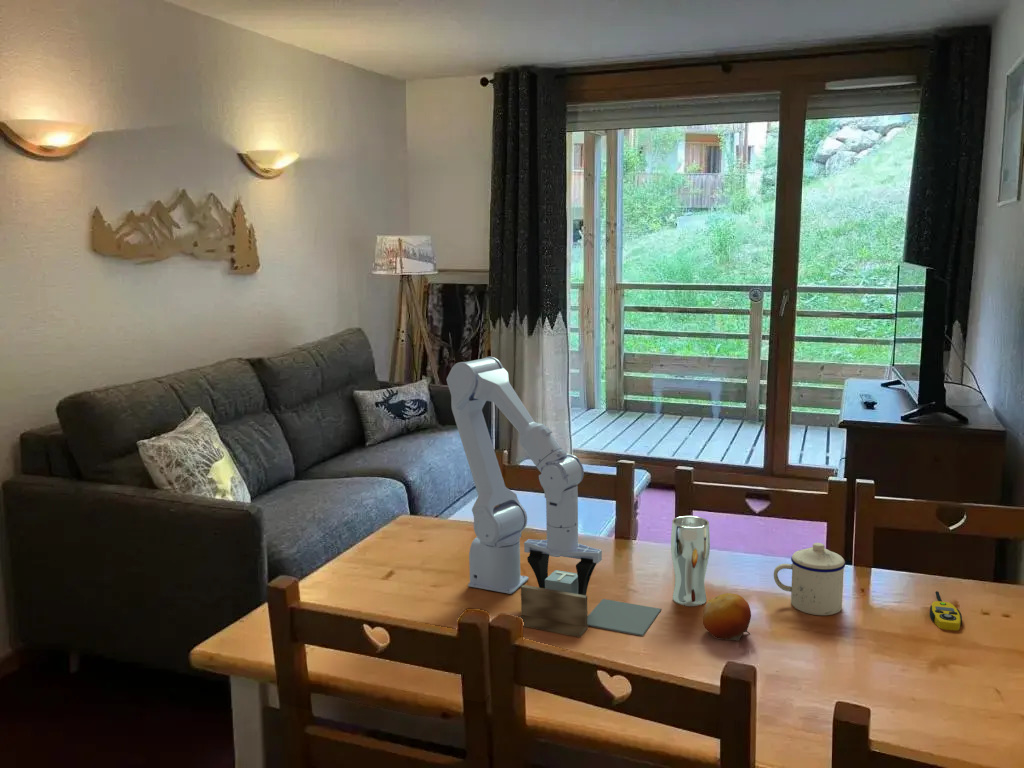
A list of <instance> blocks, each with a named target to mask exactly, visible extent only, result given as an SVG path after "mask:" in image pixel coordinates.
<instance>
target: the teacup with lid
mask: <svg viewBox="0 0 1024 768" xmlns="http://www.w3.org/2000/svg"><path fill="white" fill-rule="evenodd" d="M825 547H826V546H825V544H824V543H821V542H814V543H813V544H812V546H811V547H808V548H802V549H799V550H797V551H795V552H794V553H793V554H792V555H791V557H790V561H791V563H792V564H791V563H781V564H778V565H777V566H776V567H775V568H774V571H773V580H774V582H775V584H776V585H777V587H778V588H779V589H781V590H783V591H786V592H790V593H791V594H790V603H791V605H792V606H793V607H794V608H795V609H796V610H798V611H800V612H802V613H805V614H809V615H814V616H831V615H835V614H838V613H839V612H840V611H841V610H842V609H843V587H844V569H845V567H846V561H845V559H844V558H843V557H842V555H840V554H838V553H836V552H834V551H831V550H830V549H827V548H825ZM781 570H792V571H791V586H789V585H785V584H784V583H782V581H780V579H779V575H778V573H779V571H781Z"/></svg>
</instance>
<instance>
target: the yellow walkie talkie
mask: <svg viewBox="0 0 1024 768" xmlns="http://www.w3.org/2000/svg"><path fill="white" fill-rule="evenodd" d="M935 596H936V599H937V601H933V602H932V604H931V605H930V607H929V618H930V620H931V621H932V623H934V624H935V626H936V627H938V628H939V629H941V630H946V631H955V632H956V631H959V630H960V629H961V626H962V621H963V617H962V613H961V611H960V610H959V608H957V607H956V606H955V605H954V604H953V603H951V602H947V601H943V600H942V598H941V595H940V592H939V591H937V590H936V591H935Z"/></svg>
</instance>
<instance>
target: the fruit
mask: <svg viewBox="0 0 1024 768" xmlns="http://www.w3.org/2000/svg"><path fill="white" fill-rule="evenodd" d="M706 602H707V603H706V604H705V606H704V609H703V612H702V614H703V615H702V619H701V620H702V625H703V627H704V629H705V630H706V631H707V632H708V633H709V634H710V635H711V636H712V637H714V638H715V639H718V640H722V641H723V640H724V641H726V640H727V641H728V640H729V641H730V640H734V641H738V642H740V638H741V637H742V636H743V634H744V633H747V634H749V635H751V633H750V632H749V631H748V628H749V625H750V623H751V619H752V611H751V607H750V605H749V603H748V601H747V600H746V599H745V598H744V597H743V596H741V595H740V594H737V593H731V592H729V593H728V592H727V593H725V592H724V593H722V594H719V595H718V596H715V597H714V598H710V599H709V600H708V601H706Z"/></svg>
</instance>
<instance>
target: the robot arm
mask: <svg viewBox="0 0 1024 768" xmlns="http://www.w3.org/2000/svg"><path fill="white" fill-rule="evenodd" d="M509 376H510V375H509V372H508V371H507V369H505V367H504V366H503V364H502V362H501V361H500V360H499V359H498V358H496V357H494V356H486V357H484V358H480V359H474V360H468V361H460V362H457V363H455V364H453V366H452V367H451V369H450V371H449V373H448V375H447V376H446V383H447V387H448V390H449V393H450V399H451V401H450V403H451V411H452V414H453V417H454V421H455V424H456V428H457V430H458V434H459V437H460V440H461V443H462V448H463V450H464V453H465V456H466V460H467V464H468V466H469V470H470V472H471V476H472V479H473V483H474V486H475V489H476V492H477V498H476V500H475V502H474V504H473V506H472V508H471V512H472V515H473V530H474V533H475V536H476V537H475V538H473V540H472V541H471V544H470V547H469V553H468V554H469V555H468V559H469V583H468V585H467V586H468V587H470V588H474V589H475V588H476V589H480V590H482V589H483V590H486V591H493V592H498V593H503V594H508V595H509V594H510V595H512V594H513V593H515V592H516V591H517V590H518V589H519V588H521V586H522V585H525V583H527V581H528V580H529V576H526V575H521V545H520V544H521V543H520V542H521V537H522V531H524V530H525V529H526V527H527V524H528V515H527V512H526V510H525V508H524V507H523V505H522V504H521V502H520V500H519V498H518V496H517V493H515V492H514V491H513V490H511V489H509V488H508V487H506V484H505V481H504V477H503V475H502V471H501V467H500V465H499V460H498V458H497V455H496V451H495V449H494V446H493V443H492V439H491V435H490V432H489V429H488V426H487V422H486V419H485V417H484V413H483V409H484V406H485V404H486V403H487V402H492V403H493V404H494V405H495V406H496V407H497V409H499V410H500V412H501V413H502V414H503V416H505V418H506V419H507V420H508V421H509V422H510V424H511V425H512V426H513V427H514V428H515V430H517V432H518V433H519V437H518V444H519V445H520V446H521V448H522V449H523V451H525V453H526V454H527V456H528V457H529V459H530V461H532V463H533V464H534V466H535V467H536V468H537V469H538V471H539V472H540V474H539V475H538V480H539V483H540V486H541V488H543V489H542V490H543V492H544V498H545V506H546V507H545V508H546V509H545V512H546V518H545V519H546V539H530V538H528V539H527V540H526V541H524V542H523V547H524V549H523V550H524V553H529V555H528V556H527V557H526V559H527V563H528V564H529V566H530V568H531V570H532V572H533V573H534V575H535V579H536V582H537V584H538V587H539V588H545V579H546V578H547V577H548V576H549V574H548V573H549V571H548V569H549V558H550V557H553V558H560V557H563V558H570V559H577V560H580V561H579V562H578V563H576V564H575V568H576V573H577V575H578V594H580V595H586V596H587V592H588V588H589V583H590V580H591V577H592V575H593V572H594V570H595V568H596V566H597V564H599V563H600V562H601V561H602V560H603V558H602V557H603V550H602V549H600V548H595V547H591V546H588V545H584V544H582V543H579V505H578V504H579V498H578V497H579V493H578V492H579V491H578V489H579V487H578V485H579V484H580V483H581V482H582V481H583V478H584V475H585V474H584V473H585V472H584V466H583V464H582V462H581V461H580V459H579V457H577V456H576V455H574V454H572V453H571V454H570V453H568V451H566V450H565V449H563V448H562V446H561V445H560V444H559V443H558V441H557V439H556V438H555V437H554V436H553V434H552V433H553V431H552V430H551V429H550V428H549V426H546V425H545V424H544V423H540V422H535V421H534V419H533V417H532V415H531V414H530V413H529V411H528V409H527V408H526V406H525V404H524V403H523V402H522V400H521V398H520V397H519V395H518V394H517V392H516V391H515V389H514V388H513V386H512V384H511V383H510V379H509Z"/></svg>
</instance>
